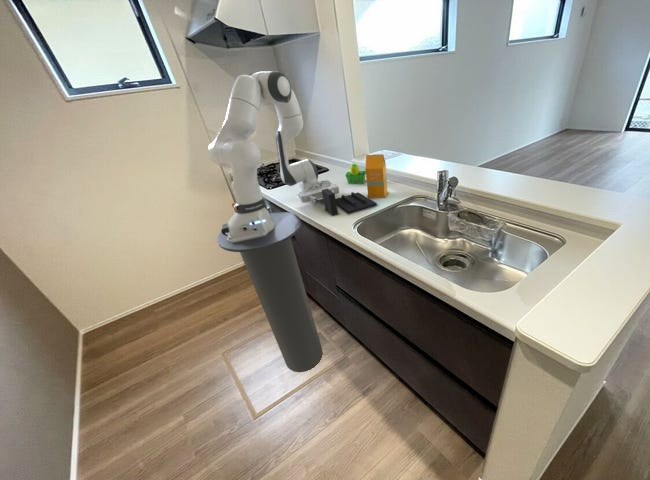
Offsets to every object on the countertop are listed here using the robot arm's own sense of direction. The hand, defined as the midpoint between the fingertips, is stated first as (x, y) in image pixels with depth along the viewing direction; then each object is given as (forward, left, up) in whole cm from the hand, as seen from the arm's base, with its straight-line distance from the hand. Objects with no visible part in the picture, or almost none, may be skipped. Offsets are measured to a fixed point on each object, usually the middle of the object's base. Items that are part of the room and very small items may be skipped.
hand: (324, 197), depth 144 cm
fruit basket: (+29, +25, -6) cm, 39 cm away
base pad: (+13, -4, -6) cm, 15 cm away
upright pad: (0, -6, -6) cm, 8 cm away
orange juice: (+28, -2, -6) cm, 29 cm away
